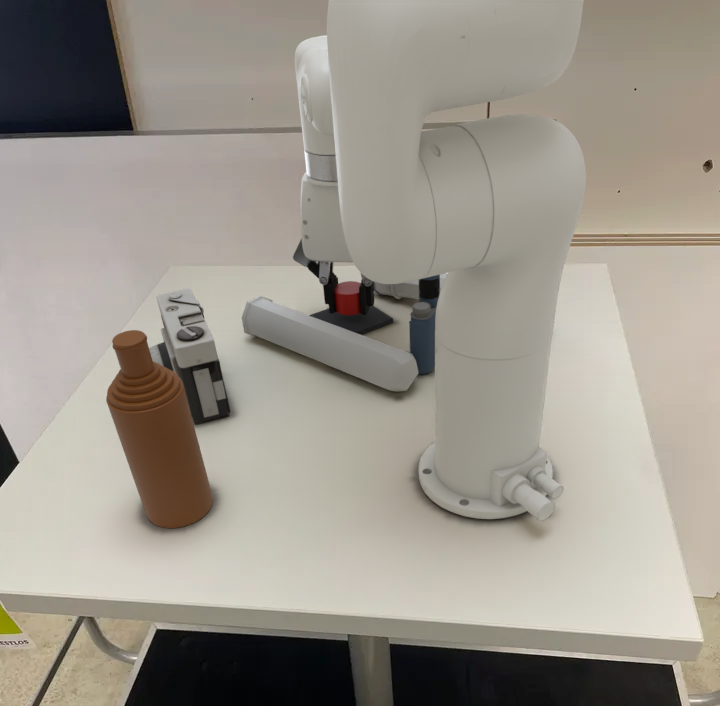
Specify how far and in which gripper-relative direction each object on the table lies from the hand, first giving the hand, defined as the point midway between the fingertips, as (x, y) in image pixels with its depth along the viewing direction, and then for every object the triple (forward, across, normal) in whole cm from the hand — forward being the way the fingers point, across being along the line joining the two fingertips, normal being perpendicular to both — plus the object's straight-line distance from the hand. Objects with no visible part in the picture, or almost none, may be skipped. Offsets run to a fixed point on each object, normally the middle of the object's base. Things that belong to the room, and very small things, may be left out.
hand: (350, 308), depth 94 cm
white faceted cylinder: (+2, -13, -3) cm, 14 cm away
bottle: (+2, +8, +38) cm, 39 cm away
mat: (+2, 0, 0) cm, 2 cm away
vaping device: (+2, -11, +10) cm, 15 cm away
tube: (+2, 0, +10) cm, 11 cm away
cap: (0, 0, 0) cm, 0 cm away
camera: (+2, +16, +19) cm, 25 cm away
